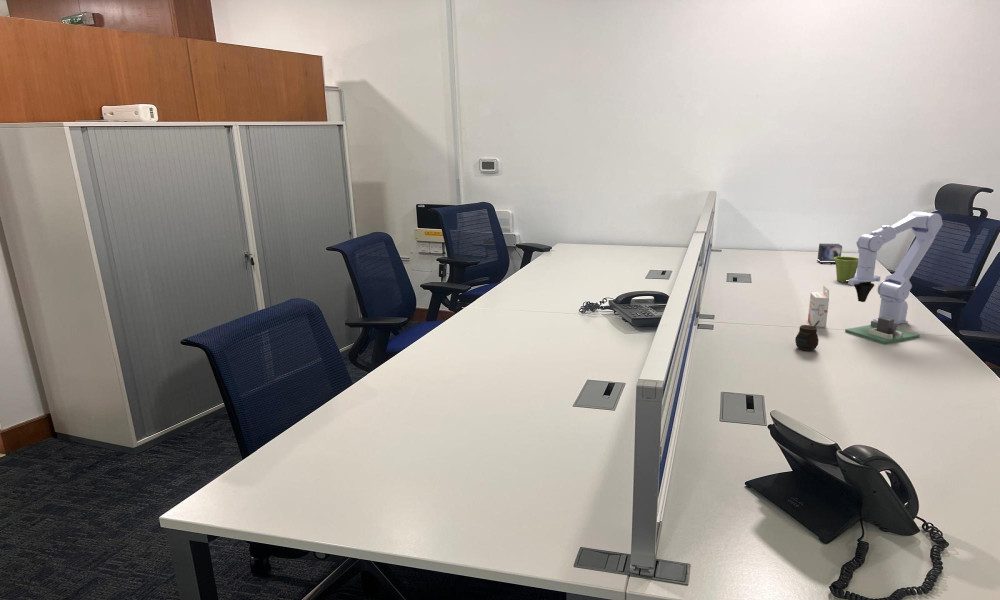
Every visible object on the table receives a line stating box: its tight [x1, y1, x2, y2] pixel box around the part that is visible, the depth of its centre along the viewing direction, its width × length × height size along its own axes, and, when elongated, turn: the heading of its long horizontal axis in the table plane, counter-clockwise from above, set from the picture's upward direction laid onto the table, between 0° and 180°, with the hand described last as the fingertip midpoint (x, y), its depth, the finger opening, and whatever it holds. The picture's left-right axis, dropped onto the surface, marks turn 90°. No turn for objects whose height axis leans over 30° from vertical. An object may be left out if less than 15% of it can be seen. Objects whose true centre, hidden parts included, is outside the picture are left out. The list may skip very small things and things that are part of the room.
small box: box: [816, 243, 843, 264], centre depth 360 cm, size 11×6×10 cm, turn 80°
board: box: [844, 319, 920, 345], centre depth 237 cm, size 18×16×3 cm
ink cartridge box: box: [807, 285, 830, 328], centre depth 250 cm, size 9×5×15 cm, turn 168°
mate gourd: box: [794, 321, 820, 352], centre depth 222 cm, size 7×8×10 cm
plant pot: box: [834, 256, 859, 283], centre depth 318 cm, size 12×12×11 cm
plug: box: [877, 317, 896, 337], centre depth 233 cm, size 3×6×6 cm, turn 27°
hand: (861, 301), depth 247 cm, fingers closed
